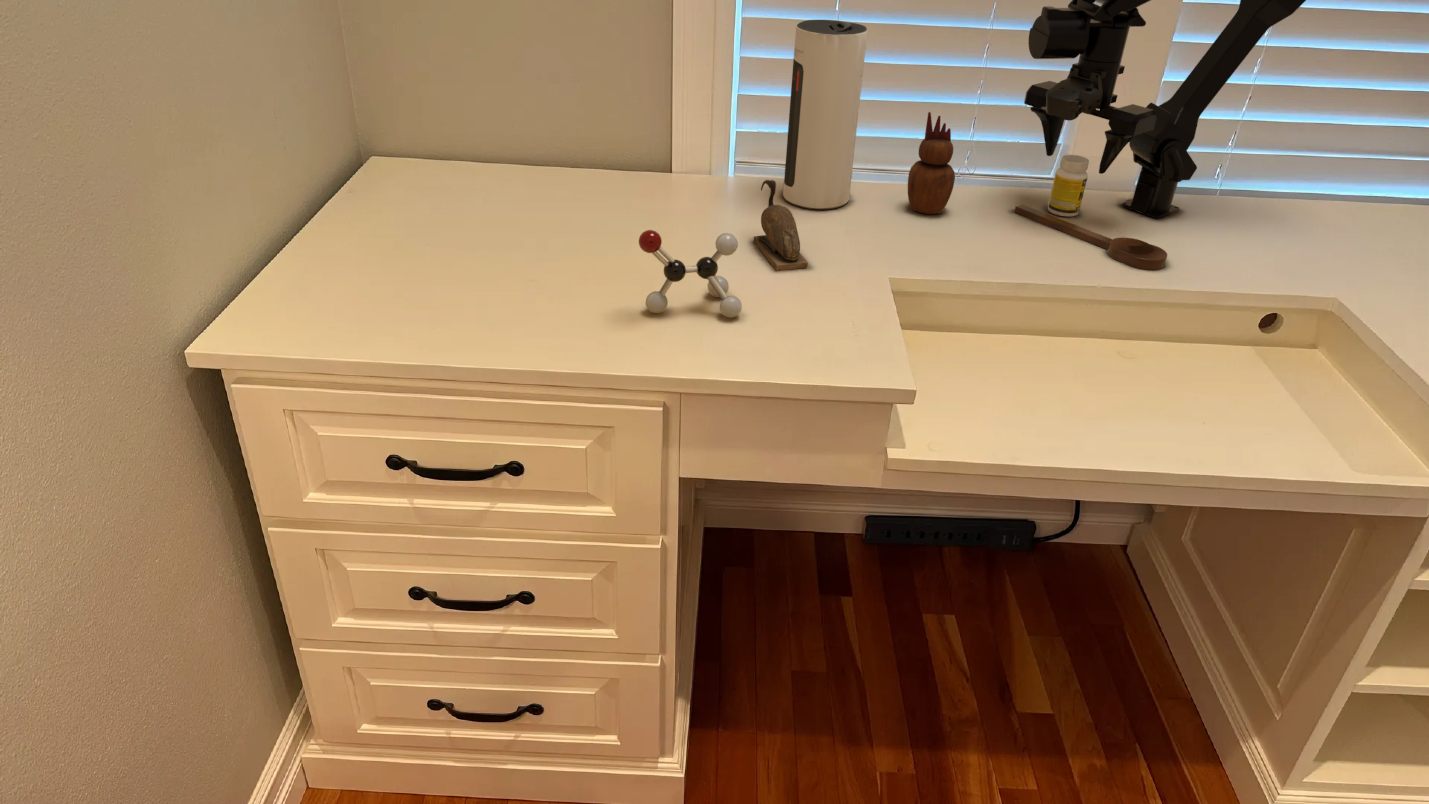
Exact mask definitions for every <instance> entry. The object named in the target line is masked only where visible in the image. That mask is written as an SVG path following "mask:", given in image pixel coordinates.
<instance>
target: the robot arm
mask: <svg viewBox="0 0 1429 804" xmlns="http://www.w3.org/2000/svg"><path fill="white" fill-rule="evenodd" d="M1151 1H1152V0H1071V1H1070V2H1069V3H1068V5H1067V7H1054V6H1051V5H1050V6H1049V5H1048V6H1045V5H1044V6H1043V7H1041V11H1040V12H1041V13H1040V15H1038V17H1037V18H1035V20H1034V21H1033V24H1032V26H1031V27H1030V28H1029V33H1028V43H1027V44H1028V50H1029V51H1028V52H1029V53H1030V56H1031V57H1032V59H1034V60H1061V59H1063V60H1069V59H1070V60H1071V59H1076V58H1077V57H1079V58H1078V60H1077V61H1078V62H1076V63H1072V64H1071V67H1070V69H1069V73H1068V75H1067V77H1066V79H1062V80H1060V81H1059V82H1056V81H1052V80H1048V81H1043V82H1039V83H1034V84H1031V85H1030V86H1029V87H1028V89H1027V90H1026V92H1025V96H1024V101H1023V103H1024V105H1026V106H1030V112H1032V113H1034V114H1035V115H1036V116H1037V117H1038V119H1039V120H1040V124H1041V127H1042V132H1043V138H1044V139H1043V140H1044V146H1045V153H1046V156H1047V157H1051V156H1053V155H1054V153H1055V150H1056V148H1057V146H1058V143H1059V140H1060V136H1061V133H1062V131H1063V127H1064V124H1065V121H1074V120H1076V119H1077V118H1078V117H1079V116H1080V115H1081V114H1085V115H1091V116H1092V117H1093V116H1094V117H1097V118H1100V119H1104V120H1106V121H1108V123H1107V124H1108V126H1109V128H1110V129H1108V130H1105V131H1104V136H1105V139H1106V141H1105V144H1104V149H1103V152H1102V155H1101V158H1100V163H1099V167H1098V174H1100V175H1103V174H1105V173H1106V172H1107V170H1108V169H1109V168H1110V166H1112V164H1113V163H1114V161H1115V160H1116V159H1117V157H1118V156H1119V155H1120V153H1121V152H1122V151H1123V150H1124V148H1125V147H1126V146H1127V145H1129V149H1130V151H1131V152H1132V157H1133V162H1134V163H1135V164H1138V165H1139V166H1141V168H1140V172H1139V176H1138V179H1137V182H1136V186H1135V189H1134V192H1133V196H1132V198H1130V199H1128V200H1125V201H1122V202H1121V207H1124V208H1126V209H1129V210H1131V211H1134V212H1136V213H1139V214H1144V215H1146V216H1148V217H1151V218H1154V219H1161V218H1164V217H1167V216H1169V215H1171V214H1174V213H1176V212H1179V211H1180V207H1179V206H1177V205H1175V204H1173V200H1174V197H1175V194H1176V191H1177V188H1178V184H1179V183H1181V182H1182V181H1190V180H1191V179H1192V177H1193V175H1194V174H1195V172H1196V171H1197V169H1198V165H1196V162H1195V161H1194V160H1193V158H1192V157H1191V155H1190V154H1189V152H1188V149H1189V147H1190V146H1191V145H1192V143H1193V141H1194V140H1195V137H1196V133H1197V128H1198V124H1199V119H1200V117H1201V115H1202V114H1203V113H1204V112H1205V110H1206V109H1207V107H1208V106H1209V105H1210V104H1211V102H1212V101H1213V100H1214V99H1215V97H1216V96H1217V95H1218V93H1219V92H1220V90H1221V89H1222V88H1223V87H1224V86H1225V84H1226V83H1227V82H1228V81H1229V79H1230V78H1231V77H1232V76H1233V74H1234V73H1235V72H1236V70H1237V69H1238V68H1239V67H1240V65H1242V63H1243V61H1244V60H1245V59H1246V58H1247V57H1248V55H1249V54H1250V53H1251V52H1252V50H1253V49H1254V48H1255V47H1256V45H1257V43H1259V41H1260V40H1261V39H1262V37H1264V35H1265V34H1266V32H1267V31H1268V30H1269V29H1270V28H1271V27H1273V26H1274V25H1277V24H1279V23H1280V22H1282V21H1284V20H1285V19H1287V18H1289V17H1290V16H1292V15H1293V14H1294V13H1295V12H1296V11H1297V10H1298V9H1299V8H1301V6H1302V5H1303V4H1304V3H1305V2H1306V1H1307V0H1240V1H1239V5H1238V6H1239V7H1238V9H1237V11H1236V12H1235V14H1234V15H1233V17H1232V18H1231V19H1230V20H1229V22H1228V23H1227V24H1226V26H1225V27H1224V29H1223V30H1222V31H1221V32H1220V34H1219V35H1218V36H1217V38H1216V39H1215V40H1214V41H1213V42H1212V44H1211V46H1209V48H1208V49H1207V51H1206V52H1205V53H1204V54H1203V56H1201V58H1200V60H1199V61H1198V62H1197V63H1196V65H1195V66H1194V67H1193V69H1192V70H1191V71H1190V73H1189V74H1188V75H1187V76H1186V77H1185V79H1184V81H1183V82H1182V83H1181V85H1180V86H1179V87H1178V88H1177V89H1176V91H1175V93H1174V94H1173V95H1172V96H1171V97H1170V98H1169V99H1167V101H1164V102H1163V103H1161V104H1159V105H1157V104H1155V103H1154V102H1149V104H1147V105H1146V107H1145V106H1141V105H1138V104H1134V103H1131V104H1129V105H1123V106H1121V107H1118V106H1117V107H1116V106H1112V105H1111V104H1114V103H1117V100H1118V94H1114V92H1115V88H1116V85H1117V84H1116V83H1117V80H1118V77H1119V75H1123V74H1124V73H1125V72H1124V71H1125V67H1126V66H1125V65H1122V60H1123V57H1124V52H1125V48H1126V45H1127V40H1128V36H1129V32H1130V29H1131V27H1132V28H1133V27H1134V28H1135V27H1139V28H1141V27H1142V28H1143V27H1145V26H1146V25H1147V21H1146V20H1145V19H1144V18H1143V16H1142V15H1141V13H1140V12H1139V9H1138V8H1139V7H1141V6H1142V5H1145V4H1147V3H1149V2H1151ZM1095 2H1096V3H1098V4H1100V5H1098V4H1096V3H1095Z"/></svg>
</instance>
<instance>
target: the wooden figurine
mask: <svg viewBox="0 0 1429 804" xmlns="http://www.w3.org/2000/svg"><path fill="white" fill-rule="evenodd" d="M951 129H952V128H950V127H949V128H947V123H946V122H944V123H943V124H942V126H941V115H938V116H937V119H936V122H935V125H934V127H933V121H932V113H931V111H928V112H927V120H926V125H925V132H924V138H923V139H922V140H921V142H920V144H919V147H918V158H919V159H920V160H917V161H915V162H914V164H912V165H911V166H910V169H909V172H908V177H907V199H908V203H909V206H910V207H911V209H912V210H914V211H915V212H917V213H921V214H926V215H935V214H940V213H942V212H943V211H944V209H945V208H946V206H947V205H948V202H949V200H950V198H951V195H952V192H953V189H954V185H955V181H956V172H955V170H954V169H953V167H952V165H950V164H949V163H950V162H951V161H952V158H953V155H954V145H953V143H952V139H951V138H952V132H951V131H952V130H951Z"/></svg>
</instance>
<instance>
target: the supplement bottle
mask: <svg viewBox="0 0 1429 804" xmlns="http://www.w3.org/2000/svg"><path fill="white" fill-rule="evenodd" d="M1089 163H1090V159H1089V158H1088V157H1085V156H1082V155H1078V154H1063V155H1062V156H1061V159H1060V163H1059V167H1058V168H1057V169H1056V171H1055V173H1054V177H1053V181H1052V186H1051V191H1050V196H1049V199H1048V203H1047V210H1048V212H1050V213H1051V214H1052V215H1054V216H1055V215H1056V216H1058V217H1059V216H1060V217H1076V216H1077V215H1079V213H1080V209H1081V206H1082V201H1083V198H1084V194H1085V189H1086V186H1087V181H1088V178H1089V175H1088V174H1089V173H1087V171H1088V169H1089V165H1090V164H1089Z"/></svg>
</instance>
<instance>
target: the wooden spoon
mask: <svg viewBox="0 0 1429 804" xmlns="http://www.w3.org/2000/svg"><path fill="white" fill-rule="evenodd" d="M1013 212H1014V213H1015V214H1017V215H1020V216H1023V217H1024V218H1027V219H1030V220H1032V221H1035V222H1038V223H1040V224H1042V225H1045V226H1047V227H1049V228H1052V229H1054V230H1058V231H1060V232H1063V233H1065V234H1068V235H1070V236H1073V237H1075V238H1077V239H1080V240H1083V241H1084V242H1088V243H1090V244H1092V245H1095V246H1098V247H1100V248H1102V249H1105V250H1106V252H1107V255H1108V256H1109V257H1110V258H1112V259H1113V260H1116V261H1117V262H1121V263H1124V264H1125V265H1128V266H1129V267H1133V268H1136V269H1141V270H1147V271H1155V270H1160V269H1163V268H1164V267H1165V264H1166V261H1167V258H1168V253H1167V251H1166V250H1165V249H1163V248H1161V247H1159V246H1157V245H1155V244H1151V243H1149V242H1147V241H1143V240H1141V239H1138V238H1134V237H1133V238H1132V237H1123V236H1122V237H1115V238H1111V237H1108V236H1106V235H1103V234H1100V233H1097V232H1095V231H1092V230H1090V229H1088V228H1085V227H1082V226H1080V225H1078V224H1075V223H1072V222H1070V221H1067V220H1065V219H1061V218H1059V217H1057V216H1055V215H1053V214H1052V215H1051V214H1049V213H1047V212H1044V211H1042V210H1039V209H1036V208H1034V207H1032V206H1029V205H1026V204H1024V203H1021V204H1018V205H1015V206H1014V210H1013Z"/></svg>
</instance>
